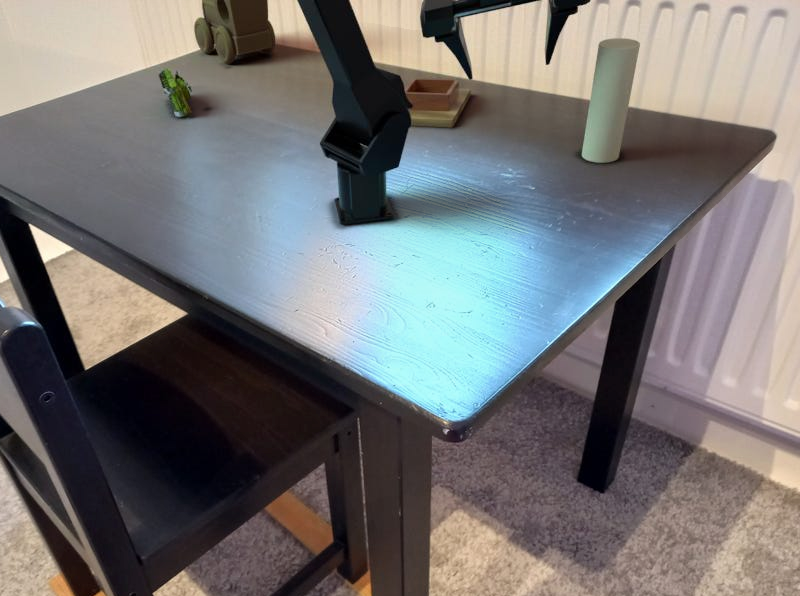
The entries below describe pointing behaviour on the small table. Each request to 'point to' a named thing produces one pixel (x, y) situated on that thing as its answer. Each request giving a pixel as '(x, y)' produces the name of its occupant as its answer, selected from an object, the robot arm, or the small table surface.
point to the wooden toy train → (234, 28)
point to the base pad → (436, 101)
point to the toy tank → (176, 92)
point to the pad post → (610, 99)
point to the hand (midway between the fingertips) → (508, 70)
